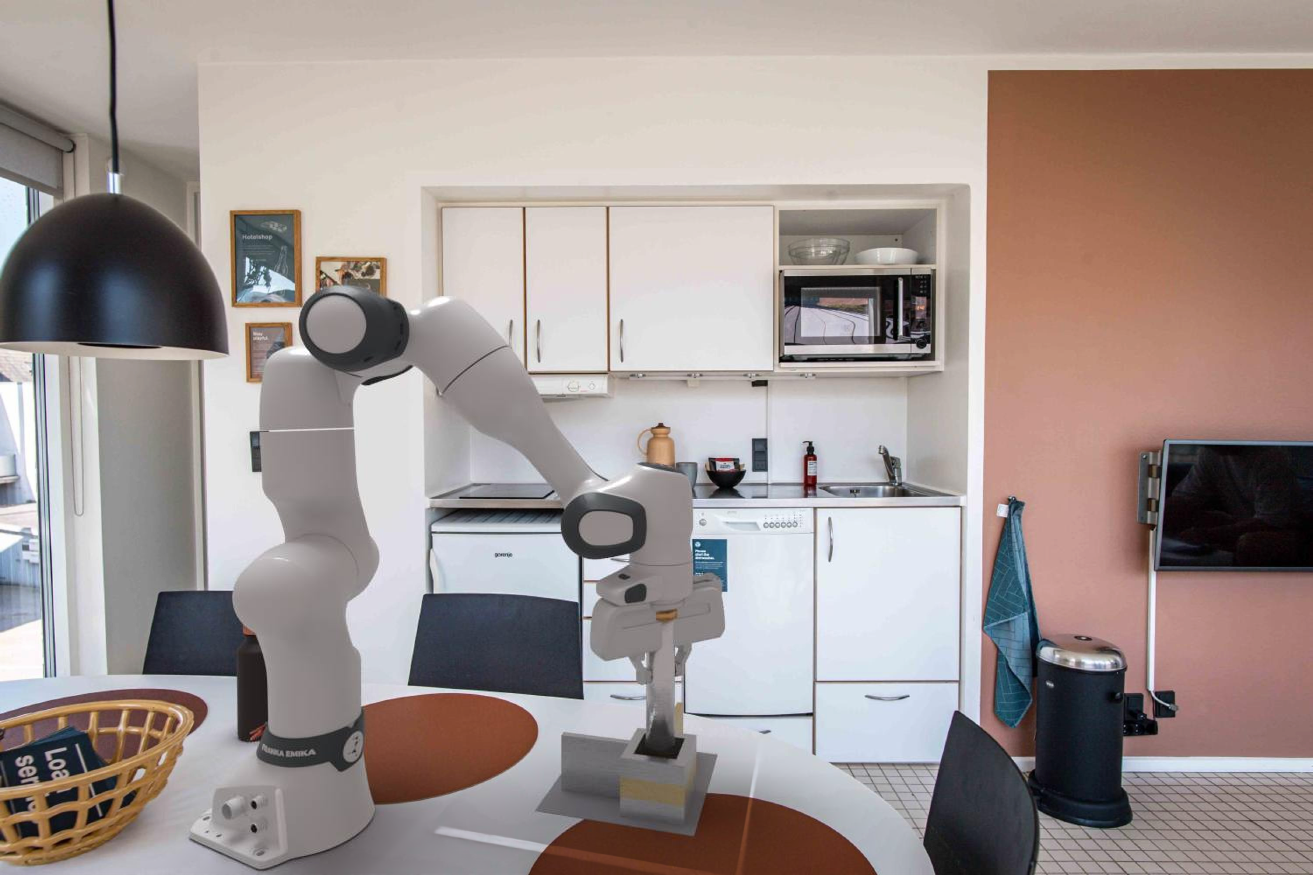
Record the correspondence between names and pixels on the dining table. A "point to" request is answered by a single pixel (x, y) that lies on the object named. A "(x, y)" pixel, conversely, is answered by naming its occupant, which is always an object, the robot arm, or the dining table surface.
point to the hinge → (634, 772)
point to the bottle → (251, 687)
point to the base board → (610, 807)
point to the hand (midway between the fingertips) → (660, 678)
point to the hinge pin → (661, 689)
